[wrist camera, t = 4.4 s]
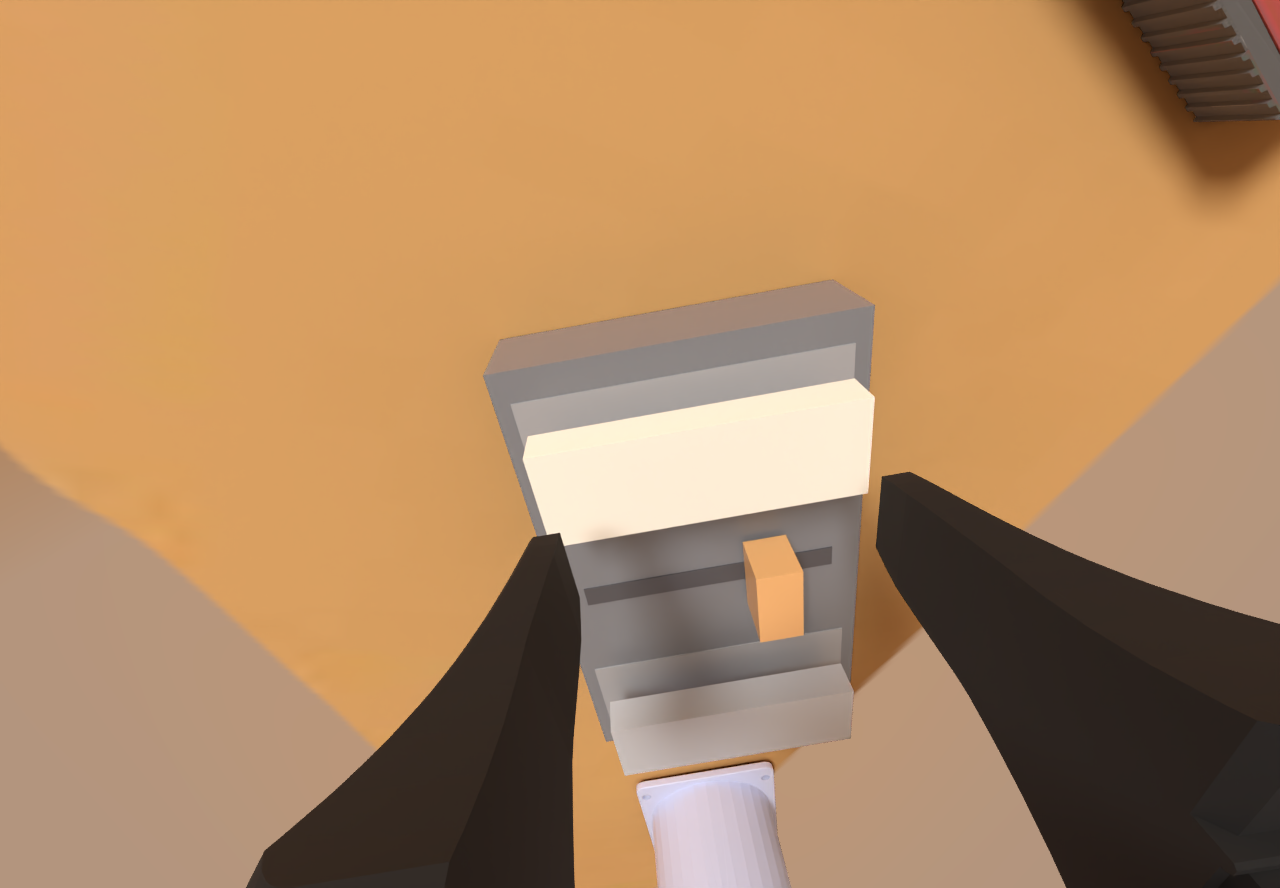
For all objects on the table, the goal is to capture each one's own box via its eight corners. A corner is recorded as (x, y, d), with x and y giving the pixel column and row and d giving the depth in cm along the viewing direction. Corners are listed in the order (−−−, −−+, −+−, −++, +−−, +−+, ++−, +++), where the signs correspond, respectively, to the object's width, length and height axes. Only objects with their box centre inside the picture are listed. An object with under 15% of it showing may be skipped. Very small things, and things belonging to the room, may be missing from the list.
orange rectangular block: (787, 596, 20) (803, 635, 18) (747, 602, 20) (760, 642, 18) (785, 534, 18) (803, 571, 17) (742, 542, 18) (755, 579, 17)
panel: (824, 645, 26) (849, 702, 24) (605, 682, 27) (606, 742, 24) (832, 279, 17) (875, 305, 15) (499, 339, 17) (482, 375, 15)
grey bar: (838, 710, 22) (850, 738, 21) (623, 745, 22) (624, 775, 21) (840, 663, 20) (853, 691, 19) (610, 702, 21) (610, 731, 20)
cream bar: (850, 469, 16) (867, 493, 15) (554, 521, 16) (551, 547, 15) (854, 378, 14) (874, 397, 13) (527, 436, 15) (522, 459, 14)
